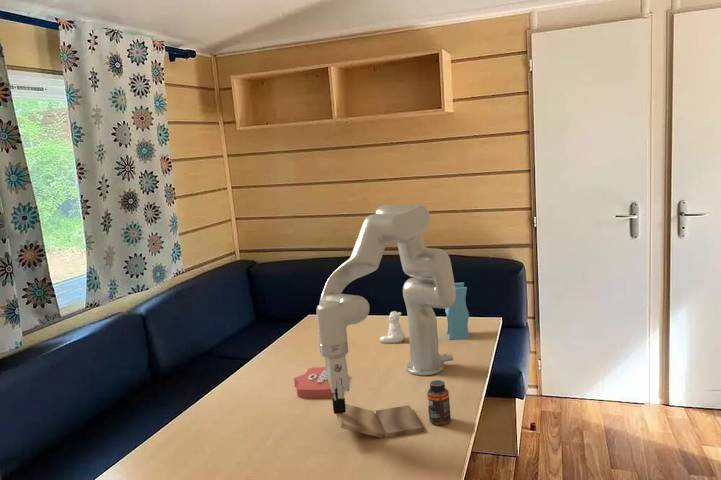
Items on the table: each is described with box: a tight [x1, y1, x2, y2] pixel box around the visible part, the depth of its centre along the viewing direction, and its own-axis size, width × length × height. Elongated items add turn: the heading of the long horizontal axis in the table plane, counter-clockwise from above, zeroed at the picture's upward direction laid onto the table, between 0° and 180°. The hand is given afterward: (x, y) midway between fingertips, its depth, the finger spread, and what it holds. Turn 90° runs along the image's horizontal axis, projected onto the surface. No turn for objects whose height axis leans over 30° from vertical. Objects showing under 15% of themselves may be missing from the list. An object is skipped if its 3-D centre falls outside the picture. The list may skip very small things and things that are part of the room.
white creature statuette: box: [379, 310, 405, 344], centre depth 233 cm, size 10×9×12 cm
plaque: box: [293, 366, 334, 399], centre depth 198 cm, size 18×4×15 cm
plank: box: [335, 403, 384, 439], centre depth 166 cm, size 12×14×1 cm
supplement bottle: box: [426, 379, 451, 426], centre depth 167 cm, size 6×6×11 cm
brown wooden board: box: [374, 404, 424, 439], centre depth 169 cm, size 11×14×1 cm
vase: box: [444, 282, 470, 341], centre depth 232 cm, size 8×8×20 cm
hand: (339, 411), depth 165 cm, fingers closed
